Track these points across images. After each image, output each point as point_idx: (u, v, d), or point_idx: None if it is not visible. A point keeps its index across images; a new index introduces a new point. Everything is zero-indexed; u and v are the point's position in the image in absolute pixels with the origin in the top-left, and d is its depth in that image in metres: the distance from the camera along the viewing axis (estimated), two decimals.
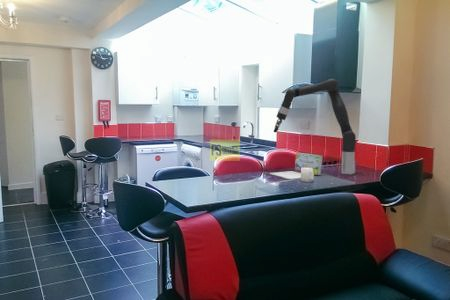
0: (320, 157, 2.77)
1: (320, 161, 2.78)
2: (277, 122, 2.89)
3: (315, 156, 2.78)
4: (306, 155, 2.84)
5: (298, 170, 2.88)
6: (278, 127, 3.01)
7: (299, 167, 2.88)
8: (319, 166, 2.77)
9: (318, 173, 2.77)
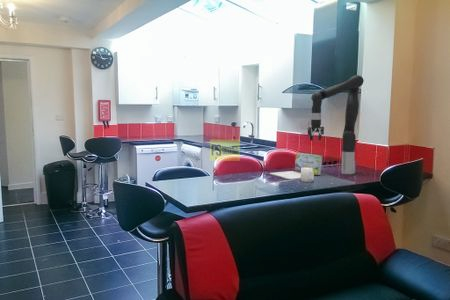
0: (320, 157, 2.77)
1: (320, 161, 2.77)
2: (308, 130, 2.82)
3: (315, 156, 2.78)
4: (306, 155, 2.84)
5: (298, 170, 2.88)
6: (320, 135, 2.86)
7: (299, 168, 2.88)
8: (319, 166, 2.77)
9: (318, 173, 2.77)
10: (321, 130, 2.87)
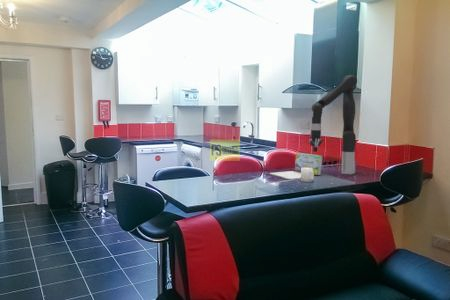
0: (320, 157, 2.77)
1: (320, 161, 2.77)
2: (309, 142, 2.84)
3: (315, 156, 2.78)
4: (306, 155, 2.84)
5: (298, 170, 2.88)
6: (316, 146, 2.86)
7: (299, 168, 2.88)
8: (319, 166, 2.77)
9: (318, 173, 2.77)
10: (319, 142, 2.87)
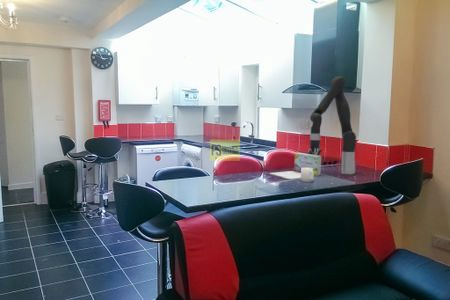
0: (319, 158, 2.75)
1: (319, 162, 2.76)
2: (309, 152, 2.85)
3: (314, 157, 2.76)
4: (305, 156, 2.82)
5: (298, 170, 2.88)
6: None
7: (299, 168, 2.87)
8: (318, 167, 2.76)
9: (318, 174, 2.77)
10: (318, 151, 2.88)
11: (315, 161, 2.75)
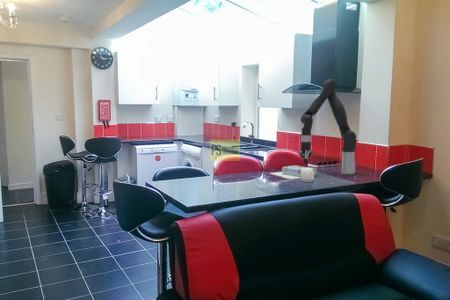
0: None
1: None
2: (299, 154, 2.81)
3: None
4: None
5: None
6: (306, 158, 2.83)
7: None
8: None
9: (315, 172, 2.75)
10: (309, 153, 2.84)
11: None
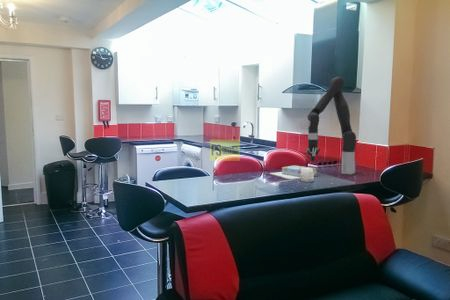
0: None
1: None
2: (307, 152, 2.84)
3: None
4: (293, 175, 2.75)
5: None
6: (313, 156, 2.85)
7: None
8: None
9: (315, 172, 2.75)
10: (316, 151, 2.87)
11: None
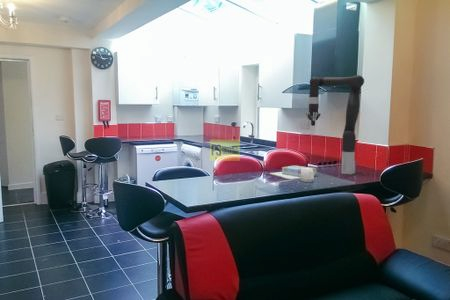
0: None
1: None
2: (307, 116, 2.86)
3: None
4: (293, 175, 2.75)
5: None
6: (314, 120, 2.87)
7: None
8: None
9: (315, 172, 2.75)
10: (317, 116, 2.89)
11: None
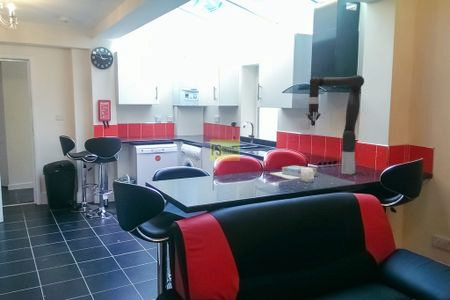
0: None
1: None
2: (307, 116, 2.86)
3: None
4: (293, 175, 2.75)
5: None
6: (314, 120, 2.87)
7: None
8: None
9: (315, 172, 2.75)
10: None
11: None
